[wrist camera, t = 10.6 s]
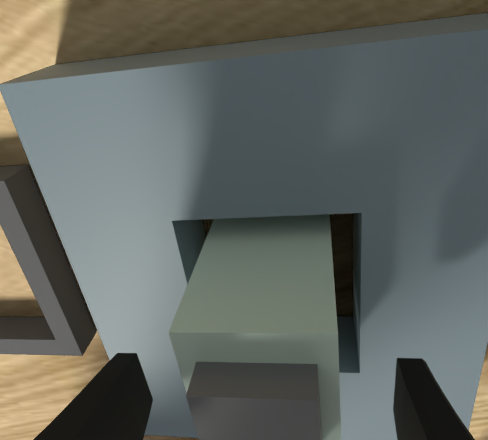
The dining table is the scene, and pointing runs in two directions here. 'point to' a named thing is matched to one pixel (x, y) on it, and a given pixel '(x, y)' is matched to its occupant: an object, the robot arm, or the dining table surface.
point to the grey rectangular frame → (40, 275)
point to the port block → (279, 190)
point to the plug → (261, 331)
